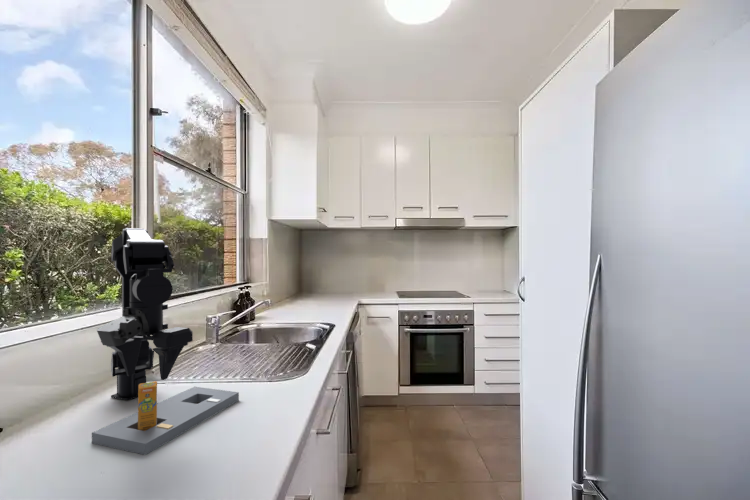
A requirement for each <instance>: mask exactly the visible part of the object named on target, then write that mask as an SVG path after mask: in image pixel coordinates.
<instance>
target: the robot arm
mask: <svg viewBox="0 0 750 500" xmlns="http://www.w3.org/2000/svg"><path fill="white" fill-rule="evenodd" d="M111 243H112V244H111V262H114V268H115V270H116V271H117V272H118V274H119V275H120V277H121V297H122V299H121V302H122V303H121V308H122V310H121V311H122V314H121V315H122V316H120V317H118V318H116V319H114V320H111V321H109V322H107V323H106V324H104V325H102V326H100V327H99V328H97V329H96V332H97V334H98V337H99V339H100V343H101V344H102V345H103V346H106V347H107V348H111V350H112V349H113V350H114V351H112V353H111V361H110V372H111V376H112V377H113V378H114V377H116V393H114V394H112V395H110V398H112V399H117V400H125V401H130V400H132V399H135V398H138V386H139V384H141V383H147V374H146V373H147V372H146V371H148V370H149V371H150V370H152V368H154V357H155V354H157V355H158V364H159V366H158V367H159V375H160V380H161V381H164V380H167V379H168V377H169V376H170V374H171V371H172V370H173V368H174V365H175V363H176V361H177V359H178V358H179V355H180V354H181V352H182V351H183V349H184V347H187V346H188V344H189V343H191V342H193V341H194V340H193V339H194V338H193V337H194V336H193V334H194V332H193V330H192V329H191V328H190V327H181V326H180V327H179V326H177V327H175V326H174V327H172V328H169V323H164V311H165V310H166V311H167V310H168V309H169V305H168V304H166V302H167V301H168V300H169V299H170V298H171V297H172V295H173V285H172V282H171V281H170V280H169V279H168V278H167V277H166V276H164V274H165V273H172V272H173V269H174V268H175V267H174V266H175V263H174V260H173V256H172V255H173V254H172V251H171V250H170V248H169V246H168V245H166V242H165V241H164V240H162V239H152V238H151V236H150V235H149V231H148V229H145V228H140V227H139V228H137V227H131V228H130V227H126V228H123V229H122V231H121V234H120V235H118V236H117V237H116V238H114V239H112V242H111ZM149 341H152V344H153V345H154V348H152V346H150V342H149Z"/></svg>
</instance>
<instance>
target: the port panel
mask: <svg viewBox="0 0 750 500" xmlns="http://www.w3.org/2000/svg"><path fill="white" fill-rule="evenodd" d="M239 393H240V392H239V391H231V390H223V389H216V388H209V387H201V386H193V387H191V388H188V389H186V390H183V391H182V392H180V393H177V394H175V395H173V396H170V397H168V398H166V399H164V400H161V401H159V402H157V425H156V426H154V427H152V428H150V429H148V430H146V431H142V430H138V411H137V412H135V413H133V414H130V415H128V416H126V417H124V418H121V419H119V420H117V421H115V422H112V423H110V424H107V425H106V426H104V427H101V428H99V429H97V430H95V431H92V432H91V444H95V445H99V446H104V447H109V448H111V449H112V448H113V449H117V450H122V451H127V452H131V453H136V454H140V455H148V454H149V453H151V452H152V451H154V450H157V449H158V448H159V447H161V446H163V445H165V444H167V443H168V442H170V441H171V440H173V439H175V438H176V437H178V436H180V435H182V434H184V433H185V432H187V431H189V430H191V429H192V428H194V427H195V426H197V425H199V424H201V423H202V422H204V421H206V420H208V419H210V418H211V417H213V416H215V415H216V414H217V413H219V412H221V411H223V410H225V409H227V408H228V407H230V406H232V405H233V404H235V403H236V402H238V401H239V400H240V394H239ZM197 402H198V403H197Z"/></svg>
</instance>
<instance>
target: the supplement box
mask: <svg viewBox="0 0 750 500" xmlns="http://www.w3.org/2000/svg"><path fill="white" fill-rule="evenodd" d="M157 403H158V381H157V380H156V381H150V382H146V383H141V384H139V386H138V397H137V412H138V430H142V431H146V430H148V429H150V428H152V427H154V426H156V425H157Z"/></svg>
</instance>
